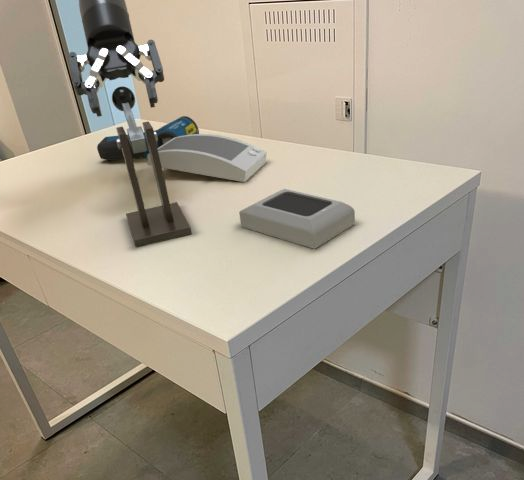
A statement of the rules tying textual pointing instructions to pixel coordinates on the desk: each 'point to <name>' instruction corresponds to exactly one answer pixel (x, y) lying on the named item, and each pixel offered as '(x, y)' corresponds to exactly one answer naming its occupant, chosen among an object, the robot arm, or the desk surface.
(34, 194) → the desk surface
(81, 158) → the desk surface
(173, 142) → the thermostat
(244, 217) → the grey flat block
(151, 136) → the latch bracket
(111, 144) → the infrared thermometer
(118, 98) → the latch lever
